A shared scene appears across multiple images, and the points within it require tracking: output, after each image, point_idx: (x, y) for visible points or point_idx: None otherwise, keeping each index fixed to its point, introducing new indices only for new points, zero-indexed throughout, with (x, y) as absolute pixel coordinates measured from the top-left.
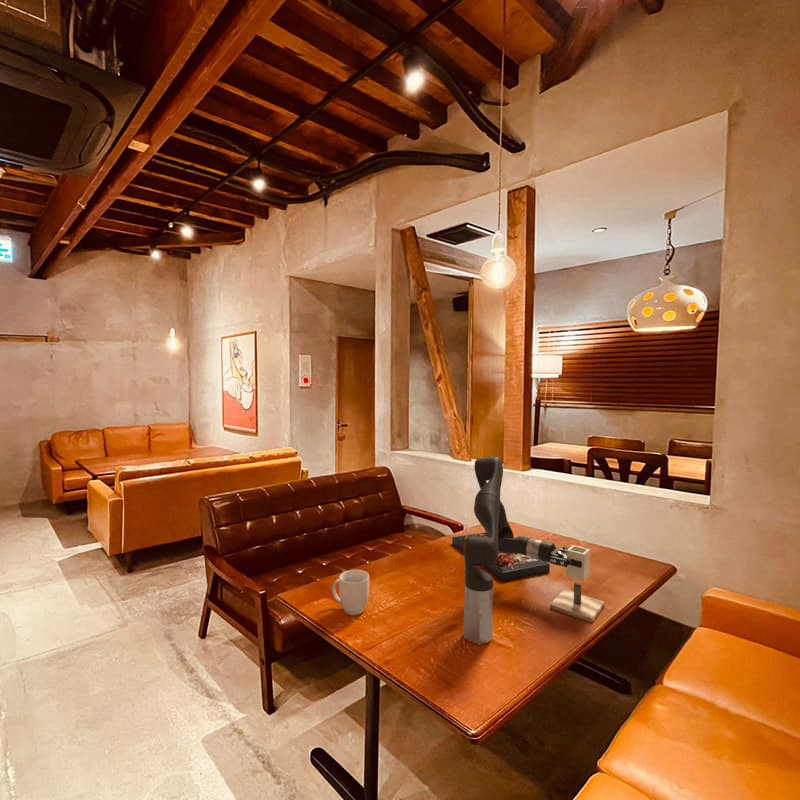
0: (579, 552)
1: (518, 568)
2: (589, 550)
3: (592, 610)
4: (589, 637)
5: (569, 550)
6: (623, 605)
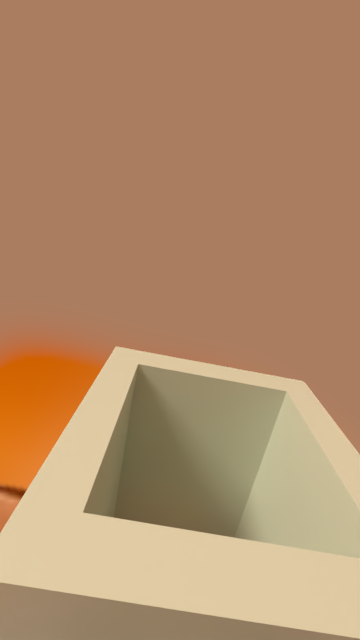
0: (307, 416)
1: None
2: (138, 356)
3: None
4: None
5: None
6: (14, 503)
